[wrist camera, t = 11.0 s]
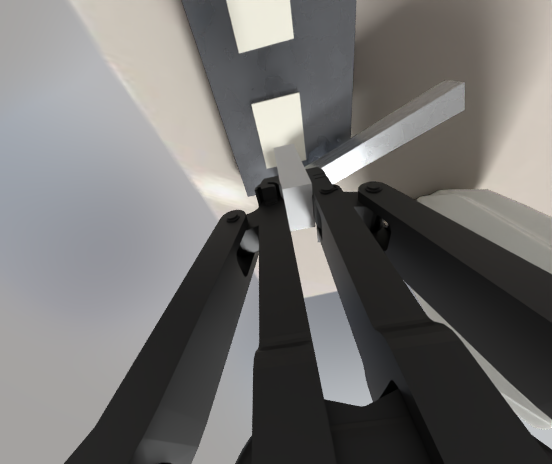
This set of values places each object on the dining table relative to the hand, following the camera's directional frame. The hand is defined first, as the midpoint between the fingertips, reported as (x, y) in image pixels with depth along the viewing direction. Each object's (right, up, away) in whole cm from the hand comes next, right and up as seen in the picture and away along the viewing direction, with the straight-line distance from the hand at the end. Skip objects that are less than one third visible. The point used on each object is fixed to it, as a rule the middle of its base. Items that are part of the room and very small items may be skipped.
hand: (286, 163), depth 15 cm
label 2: (0, +6, +7) cm, 10 cm away
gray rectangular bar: (+8, +4, +8) cm, 12 cm away
